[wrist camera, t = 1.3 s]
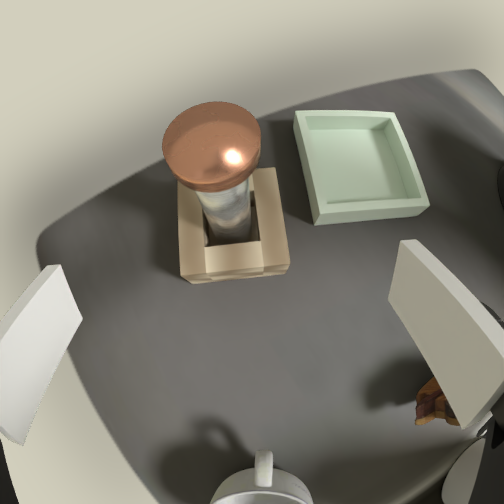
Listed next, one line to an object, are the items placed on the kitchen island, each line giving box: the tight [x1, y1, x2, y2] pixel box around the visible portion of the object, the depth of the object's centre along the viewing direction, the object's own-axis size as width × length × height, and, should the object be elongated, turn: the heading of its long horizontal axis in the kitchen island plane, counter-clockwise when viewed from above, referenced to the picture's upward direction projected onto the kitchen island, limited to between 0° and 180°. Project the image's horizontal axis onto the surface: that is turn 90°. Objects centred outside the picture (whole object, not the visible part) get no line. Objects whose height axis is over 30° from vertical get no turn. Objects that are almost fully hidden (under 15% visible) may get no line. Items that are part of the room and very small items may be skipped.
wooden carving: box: [415, 376, 491, 426], centre depth 22 cm, size 16×5×10 cm, turn 109°
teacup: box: [210, 450, 313, 504], centre depth 21 cm, size 14×11×8 cm
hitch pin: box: [162, 102, 261, 245], centre depth 23 cm, size 6×6×17 cm
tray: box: [293, 110, 430, 226], centre depth 33 cm, size 14×14×4 cm
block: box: [178, 167, 290, 284], centre depth 30 cm, size 10×10×5 cm
